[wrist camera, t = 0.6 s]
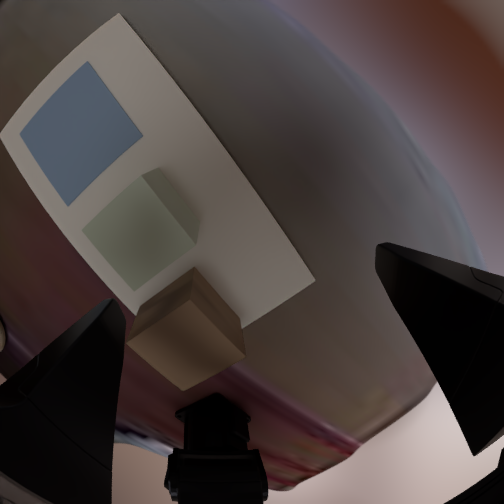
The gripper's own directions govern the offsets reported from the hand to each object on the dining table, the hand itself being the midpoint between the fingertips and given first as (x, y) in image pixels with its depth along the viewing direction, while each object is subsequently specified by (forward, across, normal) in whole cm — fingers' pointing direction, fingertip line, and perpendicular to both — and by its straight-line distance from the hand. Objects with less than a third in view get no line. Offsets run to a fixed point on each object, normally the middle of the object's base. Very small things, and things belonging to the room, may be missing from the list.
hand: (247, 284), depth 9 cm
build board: (+13, +7, -1) cm, 15 cm away
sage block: (+12, +6, +1) cm, 14 cm away
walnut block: (+12, +5, +9) cm, 16 cm away
